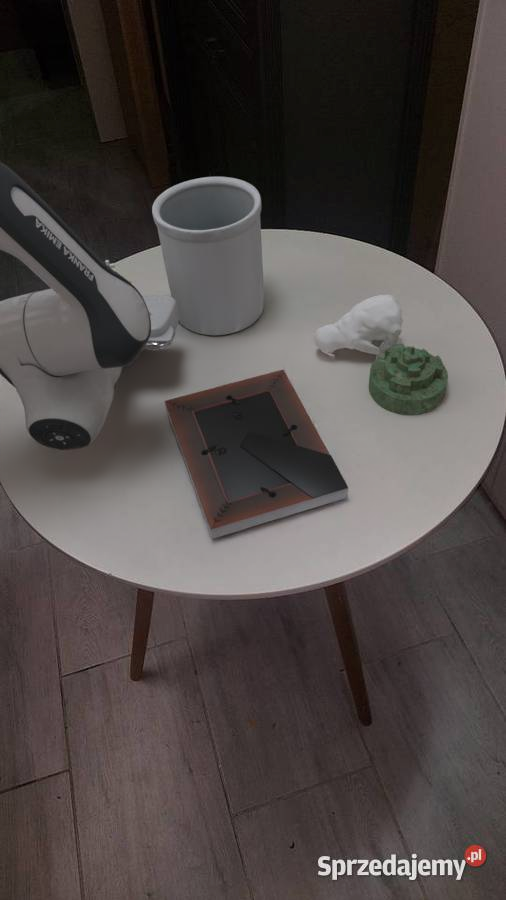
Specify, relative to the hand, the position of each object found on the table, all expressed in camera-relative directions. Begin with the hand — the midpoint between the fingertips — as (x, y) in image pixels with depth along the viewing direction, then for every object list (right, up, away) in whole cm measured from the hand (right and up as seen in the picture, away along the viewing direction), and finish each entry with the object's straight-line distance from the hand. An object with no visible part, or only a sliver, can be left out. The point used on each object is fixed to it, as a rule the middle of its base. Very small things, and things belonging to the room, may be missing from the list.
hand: (114, 284), depth 98 cm
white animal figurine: (+34, -10, -1) cm, 36 cm away
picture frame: (+20, -24, -12) cm, 34 cm away
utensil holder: (+14, -2, +8) cm, 16 cm away
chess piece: (0, -4, +4) cm, 6 cm away
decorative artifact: (+40, -15, -6) cm, 44 cm away
